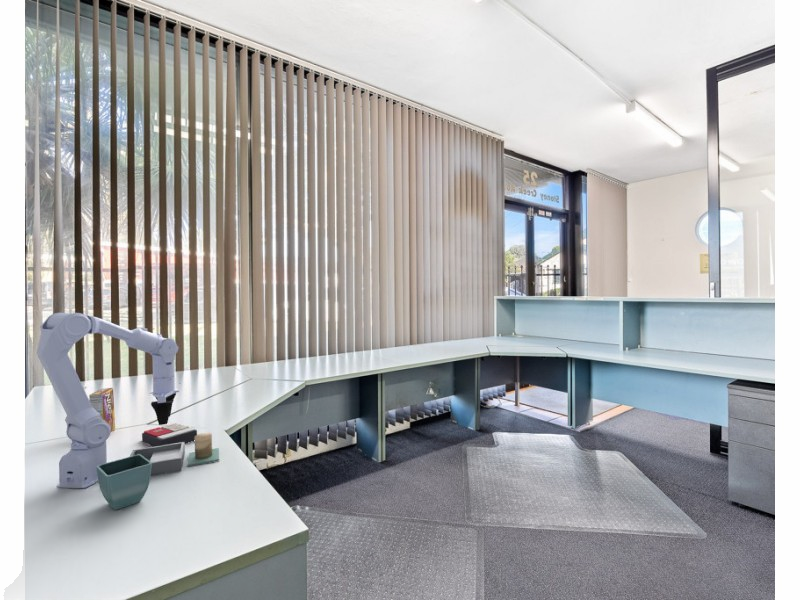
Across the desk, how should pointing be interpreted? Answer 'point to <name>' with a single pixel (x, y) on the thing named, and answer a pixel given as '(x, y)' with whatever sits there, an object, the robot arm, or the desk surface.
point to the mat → (194, 461)
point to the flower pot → (124, 480)
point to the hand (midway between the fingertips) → (164, 420)
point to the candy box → (104, 405)
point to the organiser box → (163, 457)
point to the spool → (203, 445)
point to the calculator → (169, 435)
